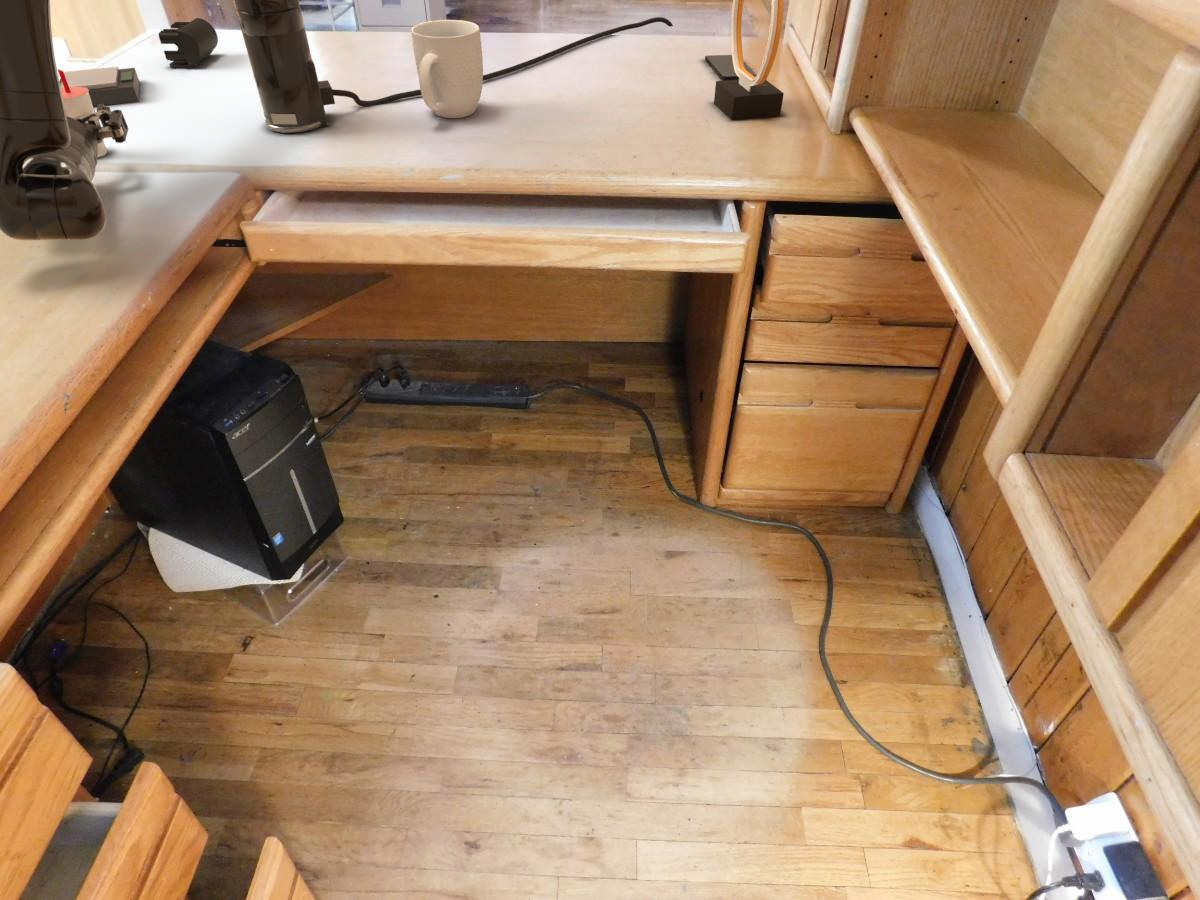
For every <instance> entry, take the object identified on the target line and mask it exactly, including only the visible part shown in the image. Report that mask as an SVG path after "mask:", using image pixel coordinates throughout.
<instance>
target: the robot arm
mask: <svg viewBox="0 0 1200 900" xmlns="http://www.w3.org/2000/svg"><path fill="white" fill-rule="evenodd" d="M232 1H233V5H234V9H235V12H236V16H237V19H238V24H239V26H240V30H241V34H242V38H243V41H244V45H245V48H246V53H247V56H248V59H249V63H250V67H251V70H252V74H253V77H254V82H255V85H256V90H257V92H258V96H259V100H260V103H261V107H262V110H263V115H264V118H265V124H266V127H267V129H268V130H270V131H272V132H277V133H282V134H283V133H284V134H292V133H293V134H296V133H304V132H309V131H312V130H315V129H318V128H321V127H326V126H328V125H329V124H328V119H327V118H328V117H327V115H326V109H325V106H330V105H336V101H335V96H336V97H345V98H349V99H352V100H353V101H354V103H355V104H356V105H357V106H360V107H365V108H366V107H372V106H378V105H385V104H387V103H391V102H394V101H398V100H402V99H408V98H413V97H418V96H422V94H421V90H420V89H415V90H410V91H404V92H399V93H394V94H391V95H388V96H385V97H381V98H378V99H377V98H376V99H374V100H373V99H372V100H364V99H363V100H362V99H360V97H359V95H358V94H357V93H355V92H353V91H350V90H345V89H334V88H333V87H332V86H331V83H330V81H329V80H319V78H318V74H317V70H316V65H315V62H314V60H313V58H312V54H311V48H310V45H309V39H308V35H307V30H306V26H305V23H304V18H303V13H302V9H301V4H300V0H232ZM654 23H663V24H664V25H666V26H668V27H673V26H674V25H673V23H672V22H671V21H670V20H669V19H668V18H666V17H662V16H658V17H656V16H655V17H652V18H648V19H645V20H641V21H639V22H635V23H630V24H624V25H620V26H618V27H617V26H616V27H614V28H611V29H607V30H604V31H601V32H598V33H594V34H591V35H589V36H586V37H584V38H582V39H578V40H576V41H573V42H571V43H569V44H566V45H563V46H561V47H559V48H556V49H554V50H552V51H551V50H550V51H549V52H547V53H544V54H541V55H539V56H537V57H534V58H531V59H529V60H526V61H523V62H521V63H517V64H516V65H512V66H510V67H506V68H503V69H500V70H496V71H494V72H489V73H485V74H483V82H484V81H488V80H491V79H495V78H498V77H502V76H505V75H507V74H510V73H514V72H516V71H519V70H521V69H525V68H528V67H529V66H532V65H534V64H538V63H540V62H542V61H545V60H547V59H549V58H550V59H551V58H552V57H554V56H557V55H560V54H562V53H565V52H566V51H569V50H571V49H573V48H576V47H579V46H581V45H584V44H586V43H589V42H592V41H594V40H598V39H601V38H604V37H608V36H610V35H613V34H617V33H620V32H623V31H627V30H633V29H638V28H641V27H644V26H647V25H650V24H654ZM59 77H60V76H59V72H58V67H57V62H56V55H55V49H54V42H53V31H52V18H51V0H0V231H1V232H2V233H3V234H4V235H6V236H7V237H9V238H11V239H13V240H17V241H68V240H69V241H81V240H84V241H85V240H88V239H89V240H90V239H92V238H94V237H96V236H98V235H99V234H100V233H101V232H102V230H103V229H104V227H105V223H106V210H105V206H104V201H103V198H102V197H101V195H100V193H99V191H98V188H97V187H96V186H95V183H93V179H94V177H95V173H96V168H97V165H98V157H97V155H98V144H99V143H100V142H101V141H102V140H105V139H110V138H111V139H112V140H113V141H115V143H117V144H122V143H124V142H126V139H127V136H128V132H129V127H128V124H127V122H126V119H125V116H124V114H123V111H122V110H121V109H114V110H113V111H112V110H111V107H110V106H106V105H104V104H98V106H96V112H95V113H84V114H82V115H80V116H77V117H75V118H71V117H68V116H67V115H66V111H65V106H64V101H63V96H62V93H61V87H60V82H59V81H60V78H59ZM86 121H87V122H88V123H85V122H86Z"/></svg>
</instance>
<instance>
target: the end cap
mask: <svg viewBox="0 0 1200 900" xmlns="http://www.w3.org/2000/svg"><path fill="white" fill-rule="evenodd" d="M158 38H159V41H160V44H161V45H175V46H176V47H177V50H164V51H163V53H164V56H165V59H166V60H167V61H170V63H169V68H171V69H191V68H192V69H193V68H194V67H196V66H197V65H198V64H200V63H201V62H202V61H203V60H205V59H206V58H207V57H209V56H210V55H211V54H212V53H213V52H214V50H215V49H216V48H217V46H218V43H219V42H218V41H219V37H218V34H217V31H216V28H214V26H213V25H212V24H211V23H210V22H209V21H207V20H205V19H203V18H201V17H195V18H194V19H193V20H191V21H175V22H174V23H172V24H171V25H170V28H163V30H160V32H158Z"/></svg>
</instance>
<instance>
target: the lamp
mask: <svg viewBox="0 0 1200 900" xmlns="http://www.w3.org/2000/svg"><path fill="white" fill-rule="evenodd" d="M744 2H745V0H732V6H731V16H730V17H731V18H730V46H731V55H732V59H733V66H734V70H735V73H736V75H737V76H738V77H739V80H726V81H723V80H716V81H715V87H714V97H713V99H714V100H713V104H714V105H715V107H717V109H719V110H720V111H721V112H722V113H723V114H724V115H726V116H727V118H729V119H730V120H731V121H739V120H749V119H752V120H753V119H765V118H774V117H776V118H777V117H781V113H782V106H783V100H784V94H785V93H784V92H783V91H781V90H780V89H779V88H777V87H776V86H775V85H773V84H772V83H771V82H769V81H768V80H767V78H768V77H769V75H770V72H771V71H772V68H773V65H774V62H775V60H776V56H777V53H778V48H779V44H780V39H781V33H782V28H783V27H782V26H783V18H784V0H771V11H770V24H769V32H768V38H767V43H766V48H765V51H764V55H763V58H762V61H761V64H760V66H759V69H758V70H757V73H756V77H754V76H753V75H752V74H750V73H749V72H748V71H747V70H746V69H745V67H744V62H745V61H744V56H743V41H742V40H743V39H742V37H743V36H742V23H743V8H744ZM743 61H744V62H743Z"/></svg>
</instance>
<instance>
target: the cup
mask: <svg viewBox="0 0 1200 900" xmlns="http://www.w3.org/2000/svg"><path fill="white" fill-rule="evenodd" d="M57 73H58V76H59V77H60V78H61V81H62V83H63V86H64V88H62V89H61V93H62V96H63V101H64V106H65V111H66V115H67V116H68V117H71V118H75V117H77V116H80V115H82V114H84V113H96V112H95V111H96V110H95V109H94V108H95V107H93V105H92V102H91V98H90V95H89V92H88V91H89V89H88V88H85V87H69V86H68V83H67V80H66V77H65V75H64V73H65V71H63V70H61V69H57ZM60 78H59V79H60ZM85 123H88V122H87V121H86V122H85ZM107 153H108V151H107V147H106V143H105V139H103V140H102V141H101V142H100V143H99V144H98V155H97V158H101V157H104V156H106V155H107Z"/></svg>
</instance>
